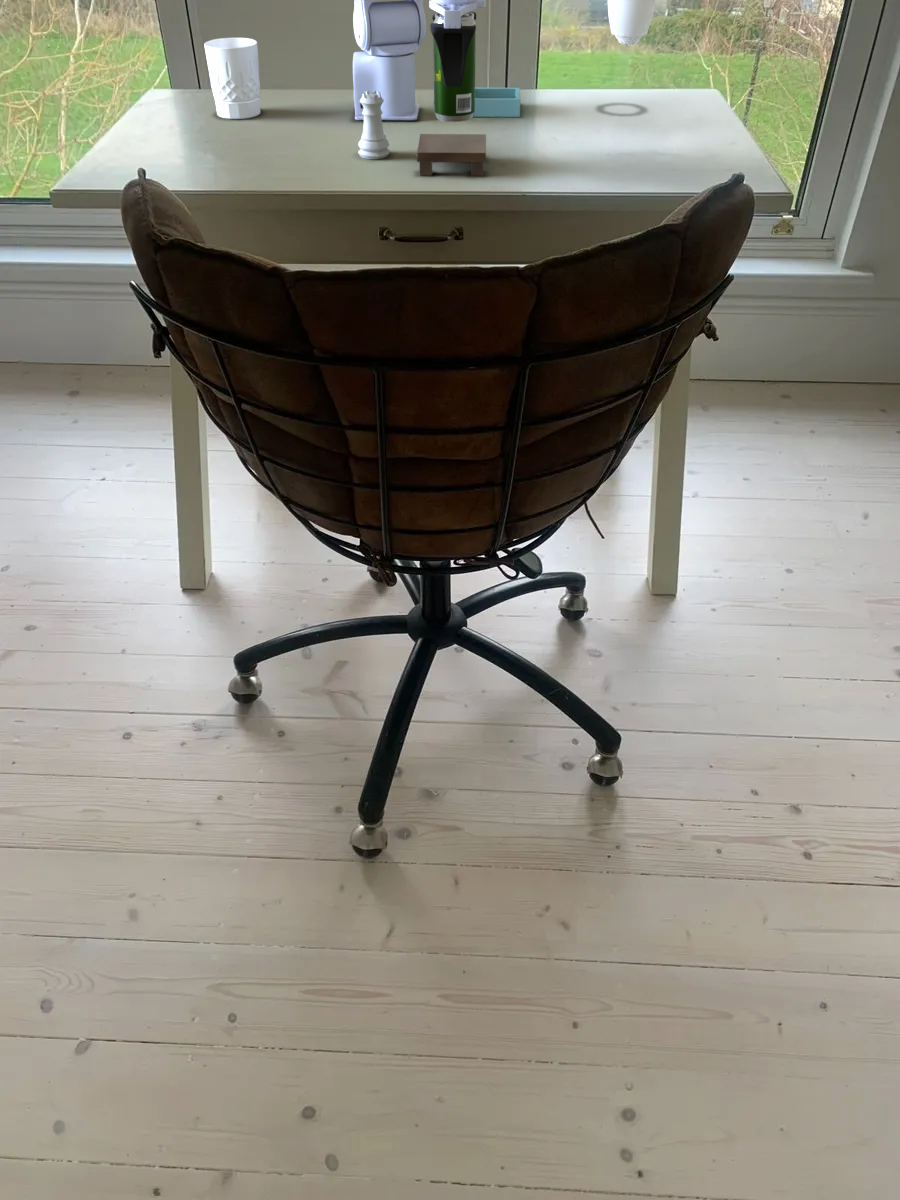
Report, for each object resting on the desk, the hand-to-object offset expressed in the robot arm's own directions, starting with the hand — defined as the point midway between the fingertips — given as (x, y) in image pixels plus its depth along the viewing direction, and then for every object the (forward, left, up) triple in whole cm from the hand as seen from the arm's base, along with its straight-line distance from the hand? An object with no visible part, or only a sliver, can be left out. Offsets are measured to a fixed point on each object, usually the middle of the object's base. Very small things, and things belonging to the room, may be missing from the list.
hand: (453, 81), depth 136 cm
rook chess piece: (-11, +4, -11) cm, 16 cm away
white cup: (-34, +26, -11) cm, 44 cm away
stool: (0, -1, -10) cm, 10 cm away
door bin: (+6, +29, -10) cm, 32 cm away
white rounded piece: (+26, +30, -11) cm, 41 cm away
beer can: (0, 0, -5) cm, 5 cm away
